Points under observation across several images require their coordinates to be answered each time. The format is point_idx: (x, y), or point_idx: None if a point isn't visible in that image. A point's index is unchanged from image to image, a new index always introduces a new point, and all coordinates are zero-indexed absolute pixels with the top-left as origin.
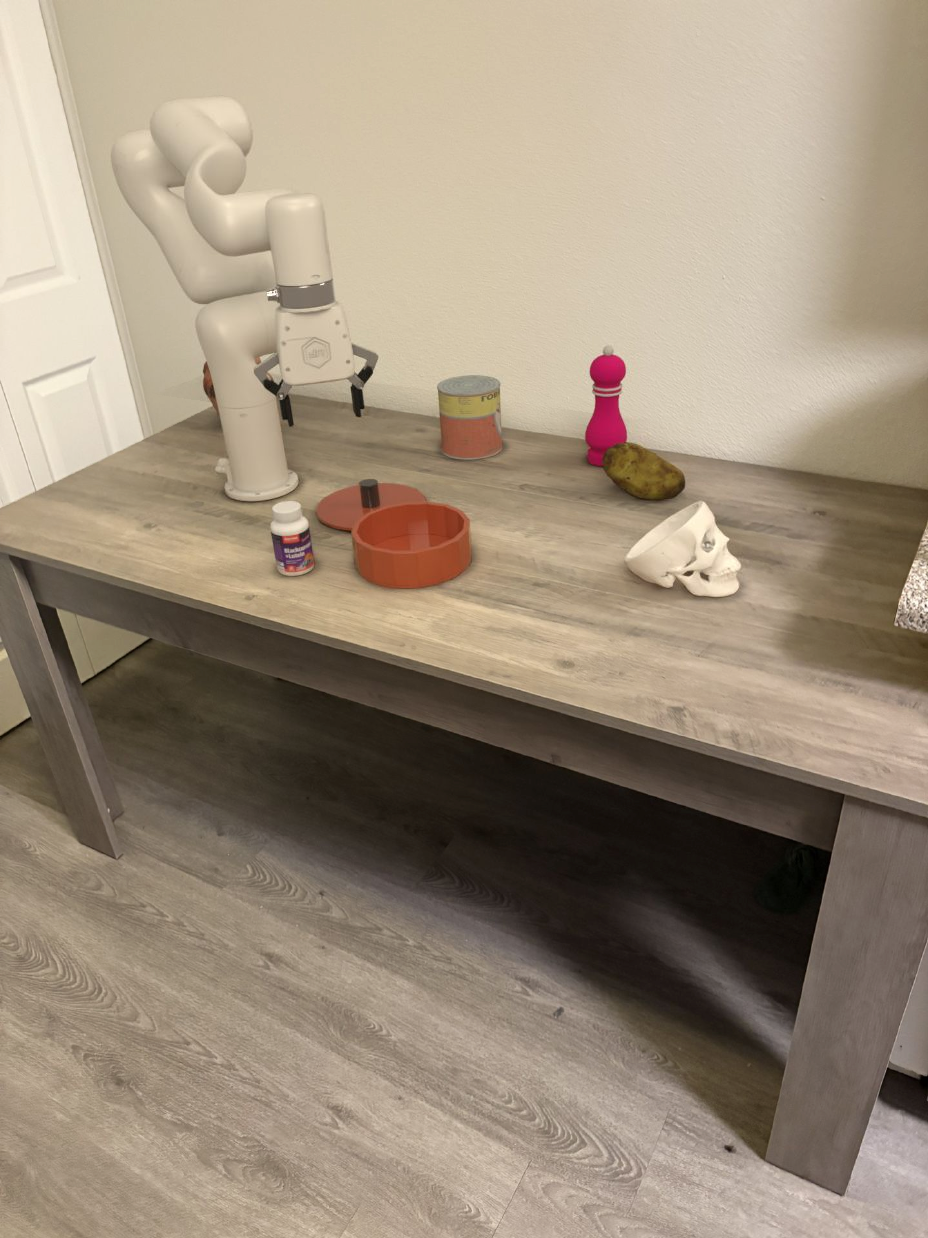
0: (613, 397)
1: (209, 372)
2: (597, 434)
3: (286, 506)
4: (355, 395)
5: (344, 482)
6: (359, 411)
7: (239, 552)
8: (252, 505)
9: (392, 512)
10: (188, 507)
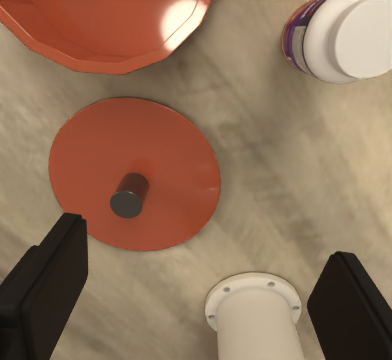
0: None
1: None
2: None
3: (372, 41)
4: (30, 283)
5: (151, 274)
6: (60, 223)
7: (361, 144)
8: (281, 268)
9: (111, 61)
10: None
